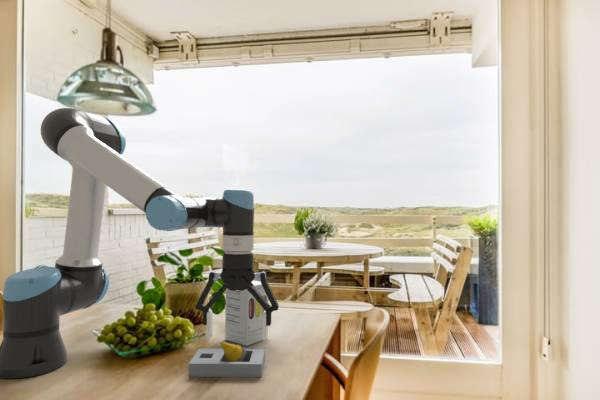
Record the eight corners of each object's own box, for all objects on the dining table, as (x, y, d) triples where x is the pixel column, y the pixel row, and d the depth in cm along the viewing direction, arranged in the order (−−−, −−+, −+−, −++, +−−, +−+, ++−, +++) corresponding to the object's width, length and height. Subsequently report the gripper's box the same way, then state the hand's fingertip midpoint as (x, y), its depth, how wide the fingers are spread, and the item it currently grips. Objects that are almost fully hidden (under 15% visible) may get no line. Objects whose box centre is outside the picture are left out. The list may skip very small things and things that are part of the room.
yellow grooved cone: (251, 367, 102) (230, 347, 96) (233, 374, 102) (210, 355, 97) (251, 348, 106) (230, 328, 100) (233, 355, 107) (211, 336, 101)
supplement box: (246, 346, 116) (246, 287, 117) (223, 340, 122) (224, 283, 122) (268, 338, 124) (269, 282, 124) (246, 332, 130) (247, 278, 130)
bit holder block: (188, 376, 96) (188, 363, 96) (199, 360, 106) (199, 348, 106) (261, 377, 96) (261, 364, 96) (265, 360, 106) (265, 349, 106)
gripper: (183, 253, 98) (181, 343, 97) (288, 254, 98) (287, 344, 97) (191, 249, 105) (190, 333, 105) (289, 250, 105) (288, 334, 105)
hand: (237, 338), depth 101 cm, fingers open, 13 cm apart
